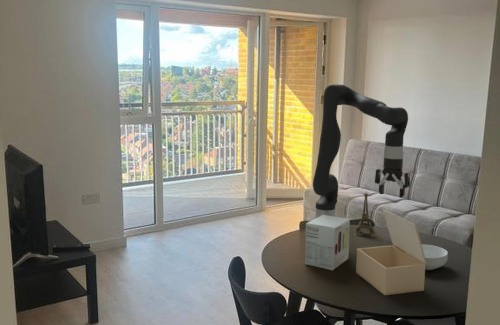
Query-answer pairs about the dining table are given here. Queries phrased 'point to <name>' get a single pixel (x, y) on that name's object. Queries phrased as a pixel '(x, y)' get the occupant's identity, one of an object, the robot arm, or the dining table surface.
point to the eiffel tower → (365, 224)
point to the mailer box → (390, 270)
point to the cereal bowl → (433, 256)
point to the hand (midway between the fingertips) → (391, 195)
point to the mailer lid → (404, 235)
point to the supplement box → (327, 241)
